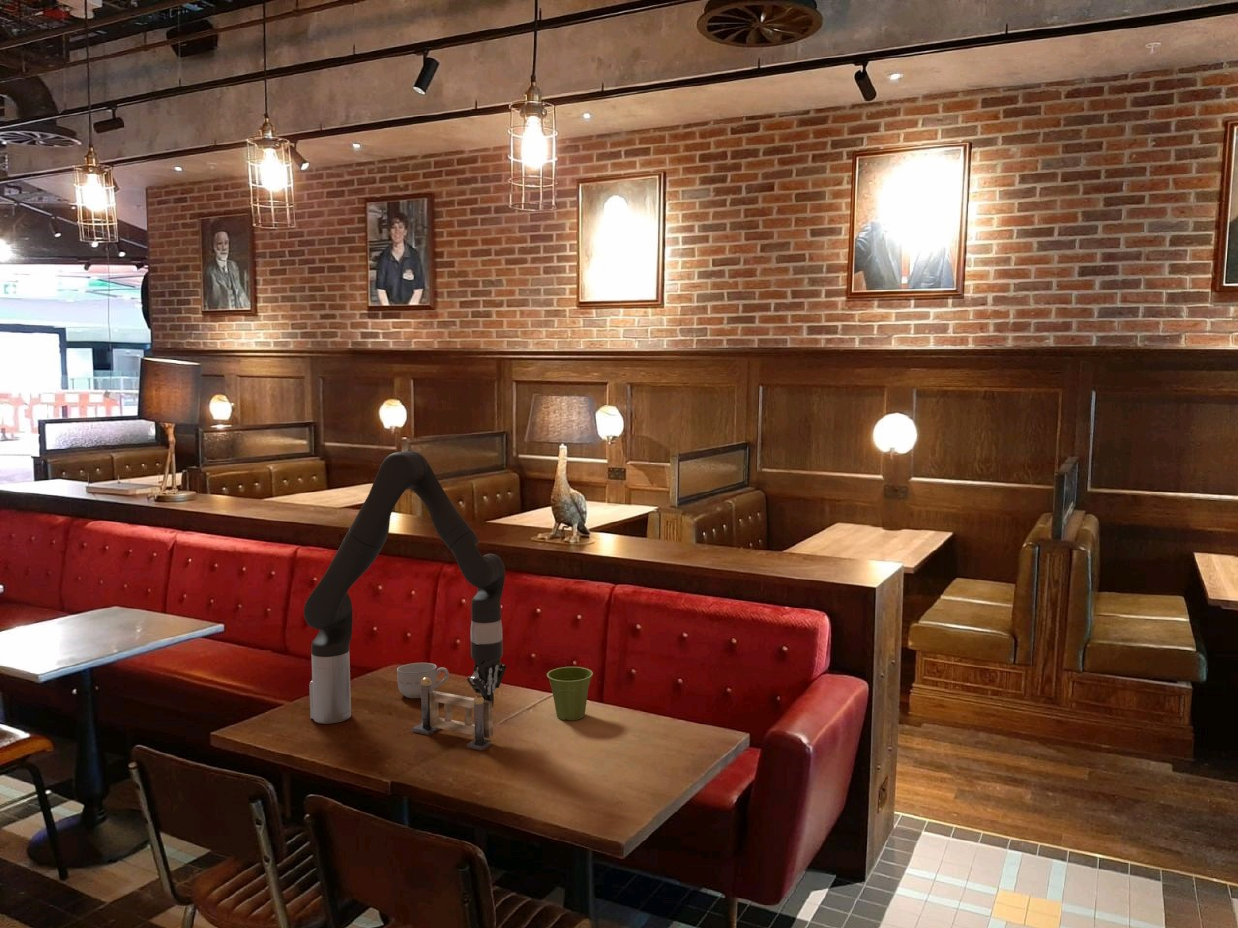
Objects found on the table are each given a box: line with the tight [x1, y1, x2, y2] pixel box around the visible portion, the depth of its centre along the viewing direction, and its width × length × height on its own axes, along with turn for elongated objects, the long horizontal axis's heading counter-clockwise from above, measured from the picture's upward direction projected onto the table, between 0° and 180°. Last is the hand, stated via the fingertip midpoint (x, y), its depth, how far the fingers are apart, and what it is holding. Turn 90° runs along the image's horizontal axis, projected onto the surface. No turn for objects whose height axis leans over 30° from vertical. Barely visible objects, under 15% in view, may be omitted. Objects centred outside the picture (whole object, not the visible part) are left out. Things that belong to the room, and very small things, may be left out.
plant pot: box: [546, 666, 594, 721], centre depth 236 cm, size 12×12×11 cm
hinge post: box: [411, 677, 441, 736], centre depth 227 cm, size 5×5×13 cm
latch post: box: [467, 695, 492, 751], centre depth 217 cm, size 4×4×12 cm
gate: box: [429, 690, 494, 739], centre depth 222 cm, size 17×2×8 cm, turn 63°
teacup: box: [396, 662, 450, 699], centre depth 252 cm, size 14×11×8 cm
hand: (487, 708), depth 222 cm, fingers closed
